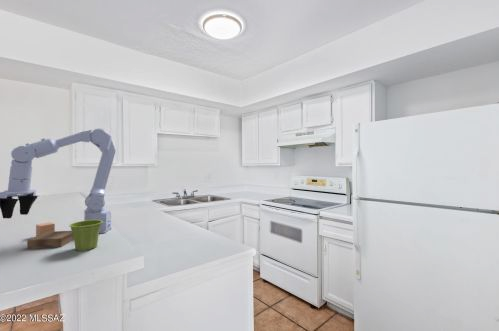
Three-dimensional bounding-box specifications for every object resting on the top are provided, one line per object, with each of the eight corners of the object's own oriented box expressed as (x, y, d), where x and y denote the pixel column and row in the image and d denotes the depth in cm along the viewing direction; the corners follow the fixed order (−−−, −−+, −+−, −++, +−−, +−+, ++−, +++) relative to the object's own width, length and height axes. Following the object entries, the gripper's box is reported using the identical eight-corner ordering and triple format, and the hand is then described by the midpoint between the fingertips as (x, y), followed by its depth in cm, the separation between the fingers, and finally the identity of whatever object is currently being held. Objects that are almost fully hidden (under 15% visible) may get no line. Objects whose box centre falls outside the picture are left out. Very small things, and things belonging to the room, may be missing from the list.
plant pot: (65, 255, 74) (66, 227, 74) (72, 245, 82) (72, 221, 82) (100, 250, 78) (100, 224, 78) (103, 242, 86) (103, 218, 86)
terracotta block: (50, 234, 96) (50, 222, 96) (54, 236, 94) (54, 223, 94) (36, 237, 92) (36, 224, 92) (40, 239, 90) (40, 226, 90)
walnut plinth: (75, 238, 91) (75, 230, 91) (61, 246, 81) (61, 238, 81) (46, 239, 89) (46, 231, 89) (27, 248, 79) (27, 240, 79)
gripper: (23, 178, 92) (19, 212, 91) (-11, 178, 78) (-16, 219, 77) (43, 179, 93) (39, 213, 92) (13, 180, 79) (8, 220, 78)
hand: (15, 216), depth 85 cm, fingers open, 7 cm apart
